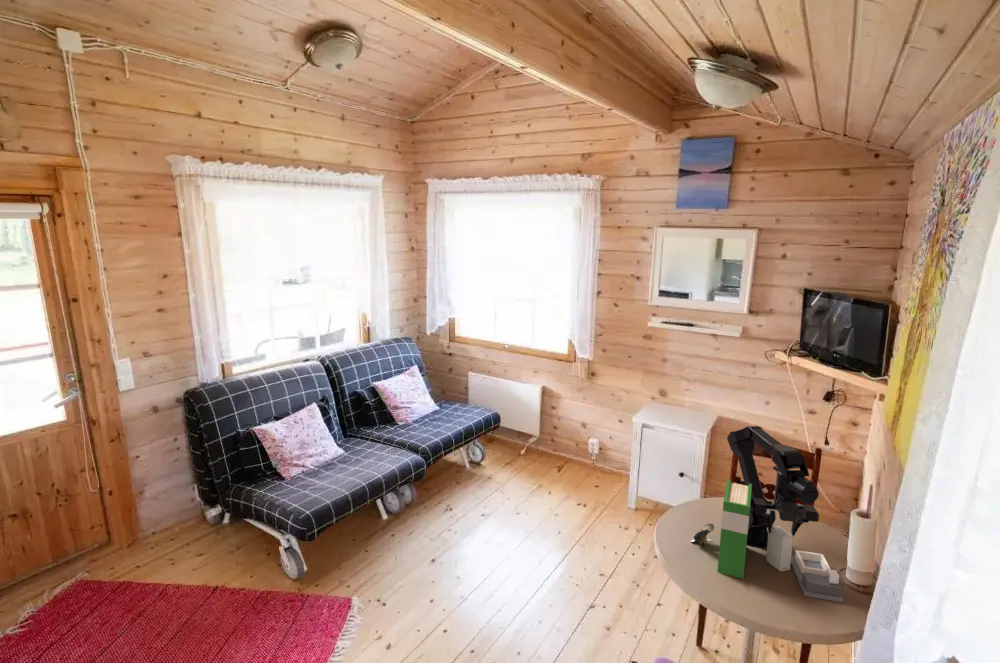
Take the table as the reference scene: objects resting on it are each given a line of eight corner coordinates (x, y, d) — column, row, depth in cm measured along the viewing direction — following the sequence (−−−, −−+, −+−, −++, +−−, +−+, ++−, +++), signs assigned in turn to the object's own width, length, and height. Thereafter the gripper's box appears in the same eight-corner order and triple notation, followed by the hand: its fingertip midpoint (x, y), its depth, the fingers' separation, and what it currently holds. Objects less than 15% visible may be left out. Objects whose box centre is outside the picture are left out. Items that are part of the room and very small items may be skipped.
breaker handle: (828, 583, 154) (830, 574, 153) (825, 577, 157) (826, 568, 156) (838, 585, 153) (839, 576, 153) (834, 578, 156) (835, 570, 155)
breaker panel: (804, 595, 155) (806, 582, 154) (788, 557, 174) (789, 546, 173) (842, 602, 152) (844, 589, 151) (822, 563, 171) (823, 551, 170)
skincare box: (790, 569, 167) (794, 535, 165) (779, 572, 166) (783, 537, 164) (775, 558, 173) (779, 525, 171) (764, 561, 172) (768, 527, 170)
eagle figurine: (712, 557, 174) (714, 532, 172) (689, 552, 176) (691, 527, 175) (712, 545, 180) (714, 521, 179) (690, 540, 183) (692, 516, 182)
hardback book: (721, 544, 181) (727, 479, 177) (745, 550, 178) (751, 483, 174) (717, 572, 166) (723, 501, 162) (743, 579, 162) (750, 507, 158)
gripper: (758, 495, 160) (753, 542, 162) (827, 504, 155) (821, 553, 157) (751, 480, 170) (747, 524, 173) (816, 488, 165) (810, 534, 168)
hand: (780, 534), depth 167 cm, fingers open, 6 cm apart
